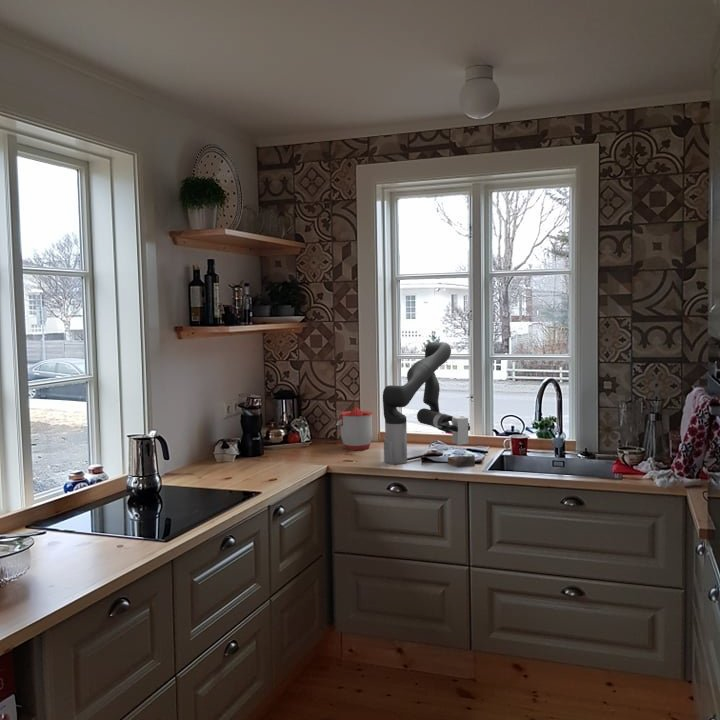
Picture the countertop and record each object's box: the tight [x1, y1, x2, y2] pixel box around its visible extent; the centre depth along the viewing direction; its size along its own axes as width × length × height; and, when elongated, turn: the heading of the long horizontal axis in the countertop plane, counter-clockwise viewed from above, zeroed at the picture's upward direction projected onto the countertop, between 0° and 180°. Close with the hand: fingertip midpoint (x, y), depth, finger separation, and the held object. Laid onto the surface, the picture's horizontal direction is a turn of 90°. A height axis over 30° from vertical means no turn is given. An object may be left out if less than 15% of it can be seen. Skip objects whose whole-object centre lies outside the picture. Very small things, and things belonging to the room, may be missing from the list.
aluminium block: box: [451, 415, 469, 446], centre depth 304 cm, size 5×5×11 cm
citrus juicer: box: [335, 406, 373, 451], centre depth 342 cm, size 16×17×20 cm
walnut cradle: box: [447, 455, 476, 468], centre depth 304 cm, size 8×9×4 cm
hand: (463, 428), depth 302 cm, fingers closed on aluminium block, 5 cm apart
